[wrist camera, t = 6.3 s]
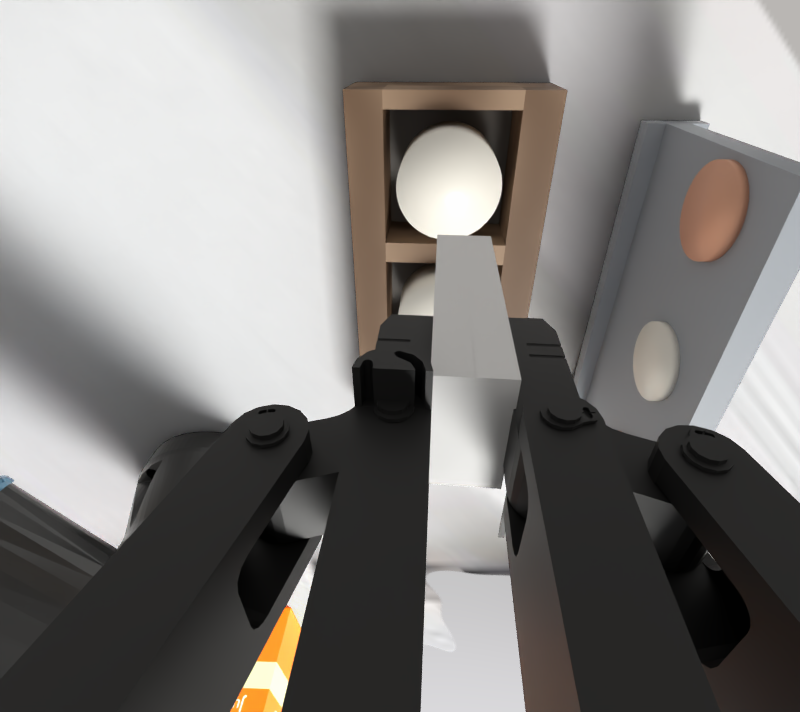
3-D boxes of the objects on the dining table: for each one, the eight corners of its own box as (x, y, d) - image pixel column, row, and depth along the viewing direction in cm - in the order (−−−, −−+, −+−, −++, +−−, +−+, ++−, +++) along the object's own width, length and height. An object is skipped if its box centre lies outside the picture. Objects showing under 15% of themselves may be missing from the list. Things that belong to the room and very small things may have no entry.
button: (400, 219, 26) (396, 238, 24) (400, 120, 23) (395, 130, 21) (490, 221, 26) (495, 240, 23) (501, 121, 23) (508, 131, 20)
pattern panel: (566, 405, 36) (613, 547, 26) (641, 120, 24) (775, 178, 15) (606, 407, 35) (669, 550, 26) (700, 120, 24) (877, 179, 14)
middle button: (401, 333, 30) (397, 359, 28) (400, 261, 28) (396, 283, 25) (478, 335, 30) (481, 362, 28) (486, 263, 27) (490, 286, 25)
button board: (372, 412, 37) (365, 448, 34) (356, 82, 24) (342, 89, 21) (497, 418, 37) (503, 456, 34) (550, 82, 24) (567, 90, 20)
